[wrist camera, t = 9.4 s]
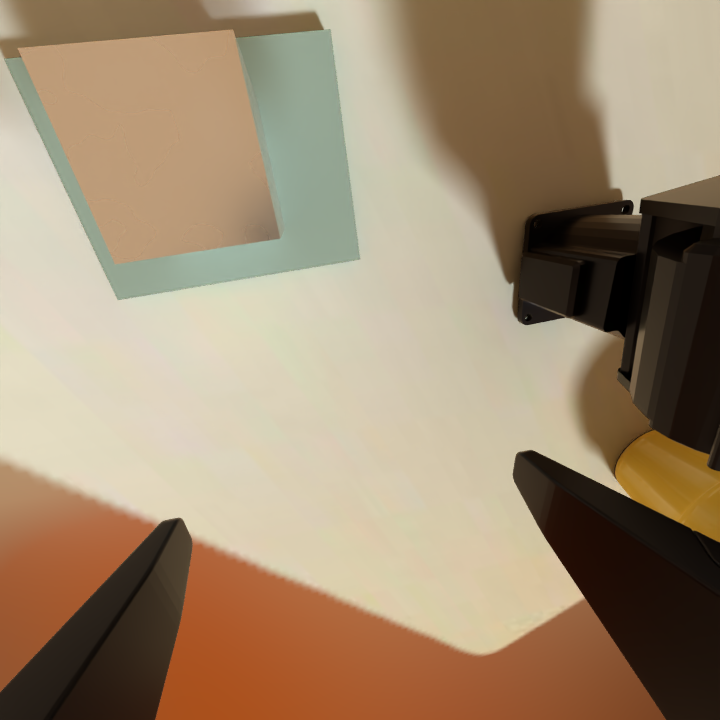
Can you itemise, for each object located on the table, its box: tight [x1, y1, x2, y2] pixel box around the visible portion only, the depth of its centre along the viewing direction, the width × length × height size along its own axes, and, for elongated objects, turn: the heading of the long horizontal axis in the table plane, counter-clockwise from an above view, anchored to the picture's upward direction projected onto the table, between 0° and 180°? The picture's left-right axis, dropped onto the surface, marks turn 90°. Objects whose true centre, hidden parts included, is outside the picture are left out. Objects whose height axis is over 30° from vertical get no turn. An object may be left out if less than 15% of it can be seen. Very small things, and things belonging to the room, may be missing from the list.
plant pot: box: [615, 430, 720, 542], centre depth 25 cm, size 10×10×10 cm
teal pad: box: [4, 29, 360, 300], centre depth 15 cm, size 12×9×1 cm
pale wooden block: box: [17, 29, 285, 264], centre depth 12 cm, size 5×5×6 cm
